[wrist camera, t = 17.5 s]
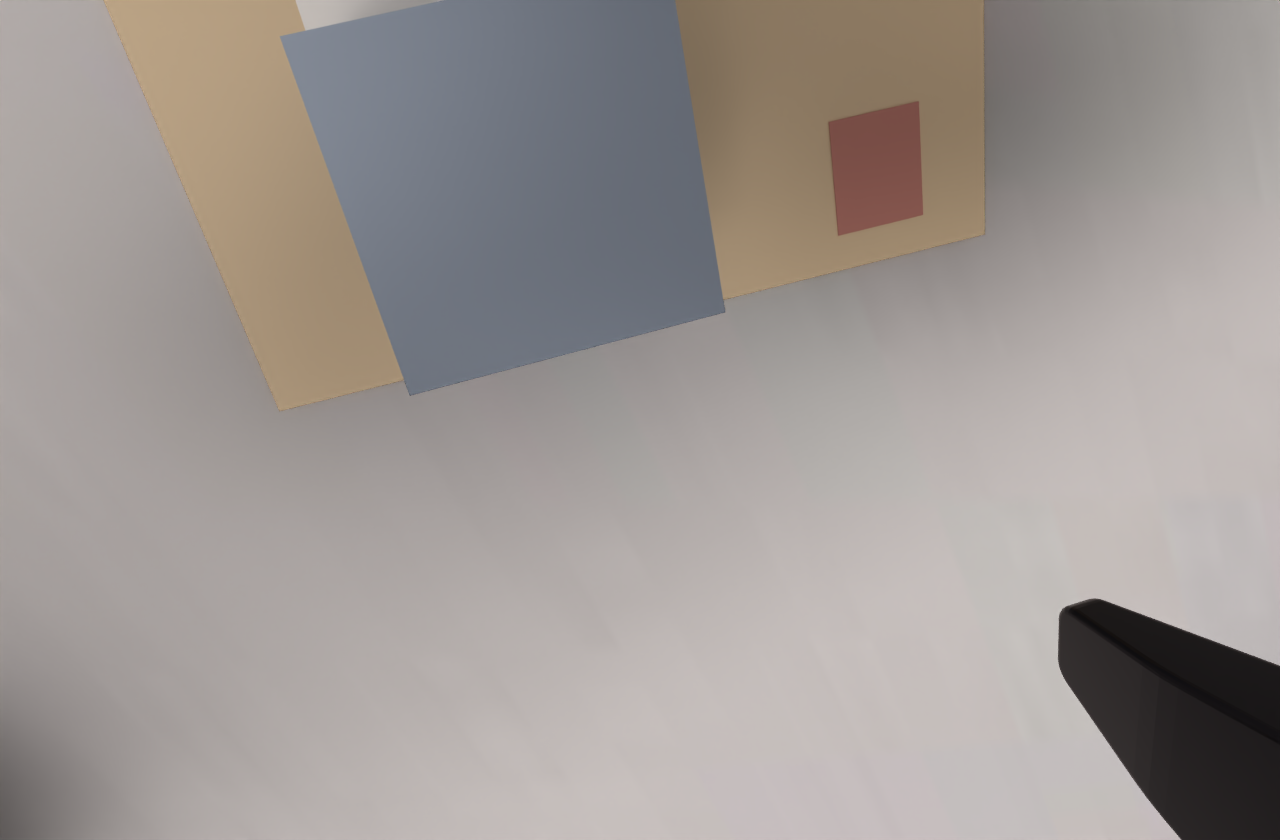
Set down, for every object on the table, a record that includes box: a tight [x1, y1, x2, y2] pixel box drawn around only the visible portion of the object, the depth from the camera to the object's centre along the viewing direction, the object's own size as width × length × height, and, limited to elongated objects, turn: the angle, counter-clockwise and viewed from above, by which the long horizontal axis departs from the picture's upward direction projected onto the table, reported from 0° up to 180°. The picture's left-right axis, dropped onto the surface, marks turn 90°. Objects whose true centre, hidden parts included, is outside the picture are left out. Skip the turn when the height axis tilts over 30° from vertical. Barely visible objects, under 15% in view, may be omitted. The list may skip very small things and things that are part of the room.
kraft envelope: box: [104, 0, 985, 411], centre depth 16 cm, size 16×11×1 cm
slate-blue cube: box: [280, 0, 725, 395], centre depth 14 cm, size 5×5×5 cm
